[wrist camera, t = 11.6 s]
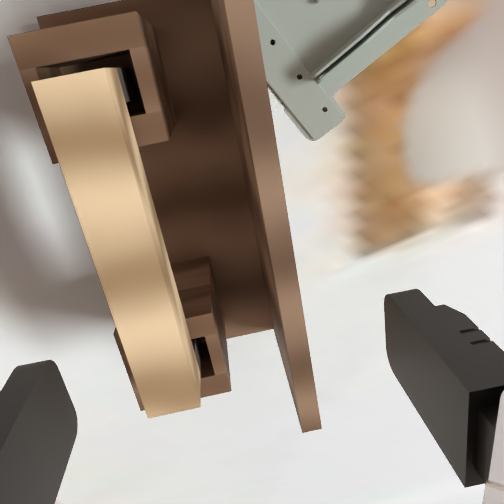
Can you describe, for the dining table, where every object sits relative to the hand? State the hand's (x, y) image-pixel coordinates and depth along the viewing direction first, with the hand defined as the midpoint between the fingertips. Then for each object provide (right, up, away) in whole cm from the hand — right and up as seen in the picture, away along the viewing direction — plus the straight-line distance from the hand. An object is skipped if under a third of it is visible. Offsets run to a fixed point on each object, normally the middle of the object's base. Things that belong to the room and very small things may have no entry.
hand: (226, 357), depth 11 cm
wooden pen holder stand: (-5, +7, +24) cm, 26 cm away
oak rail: (-6, +4, +18) cm, 19 cm away
